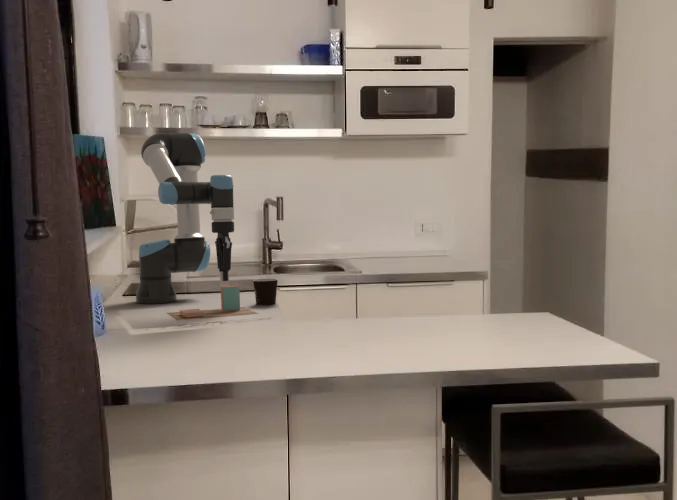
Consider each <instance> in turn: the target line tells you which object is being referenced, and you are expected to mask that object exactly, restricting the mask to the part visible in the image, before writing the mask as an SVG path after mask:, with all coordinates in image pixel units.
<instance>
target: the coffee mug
mask: <svg viewBox="0 0 677 500" xmlns="http://www.w3.org/2000/svg"><path fill="white" fill-rule="evenodd" d="M252 283H253V291H254V297H255V298H254V299H255V305H257V306H272V305H276V304H277V294H278V293H277V291H278V278H256V279H253V280H252Z"/></svg>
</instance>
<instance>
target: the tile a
mask: <svg viewBox="0 0 677 500" xmlns="http://www.w3.org/2000/svg"><path fill="white" fill-rule="evenodd" d="M201 310H202V309H199V308H192V309H179V312H180V314H181V315H182V316H184V317H185V318H192V317H203V316H204V312H203V311H201Z"/></svg>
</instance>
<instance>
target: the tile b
mask: <svg viewBox="0 0 677 500" xmlns="http://www.w3.org/2000/svg"><path fill="white" fill-rule="evenodd" d="M240 294H241V291H240V285H229V286H226V287H221V290H220V300H221V301H220V305H221V306H220V309H221V311H233V310H240V307H241V300H240V299H241V298H240V297H241V295H240Z"/></svg>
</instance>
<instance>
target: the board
mask: <svg viewBox="0 0 677 500" xmlns="http://www.w3.org/2000/svg"><path fill="white" fill-rule="evenodd" d="M200 310H201V311H203V312H204V316H203V317H192V318H185V317H184V316H182V315H181V314H180V311H177V312H175V311H174V312H166V314H168V315H169V316H170V317H172V319H174V320H176V321H186V320H188V321H189V320H199V319H211V318H212V319H213V318H220V317H222V318H223V317H237V316H246V315H247V316H248V315H258V314H259V313H258V312H256V311H254V310H251V309H249V308H247V307H244V306H240V310H233V311H221V308H213V309H212V308H211V309H200ZM253 319H257V318H253ZM241 320H244V319H241ZM230 321H233V319H231V320H230ZM218 322H222V320H221V321H218ZM207 323H210V322H206V324H207ZM195 324H196V325H197V324H198V322H197V323H195ZM183 325H186V323H184V324H183Z"/></svg>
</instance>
